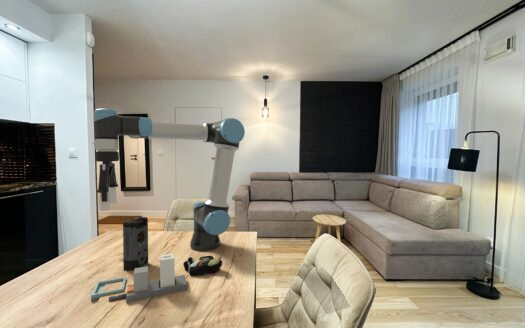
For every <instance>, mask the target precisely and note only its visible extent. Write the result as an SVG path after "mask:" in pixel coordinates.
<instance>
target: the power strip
mask: <svg viewBox="0 0 525 328" xmlns="http://www.w3.org/2000/svg"><path fill="white" fill-rule="evenodd" d="M187 290H188V283H187V279H186V275H185V274H181V275H175V285H174V286H169V287H164V288H160V278H159V279H154V280H150V281H149V266H148V265H145V266H144V267H140V268H135V269H134V270H133V284H129V285H128V286H127V290H126V291H127V292H126V293H122V294H117V295H112V296H111V295H110V296H108V302H111V301H116V300H121V299H125V303H126V304H128V303H132V302H133V303H134V302H137V301H141V300H142V301H143V300H146V299H150V298H155V297H156V298H157V297H160V296H166V295H169V294H175V293H179V292H184V291H187Z"/></svg>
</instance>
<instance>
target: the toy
mask: <svg viewBox="0 0 525 328" xmlns="http://www.w3.org/2000/svg"><path fill="white" fill-rule="evenodd" d="M222 266H223V260H222V259H221V258H215V257H214V256H213V255H205V256H200V257H199V258H198V260H196V261H195V258H194V257H191V256H190V257H188V258H187V260H184V262H183V268H184V271H186V272H188V275H189V276H190V277H192V276H204V275H206V274H215V273H217V272H218V271H220V269H221V268H222Z"/></svg>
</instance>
